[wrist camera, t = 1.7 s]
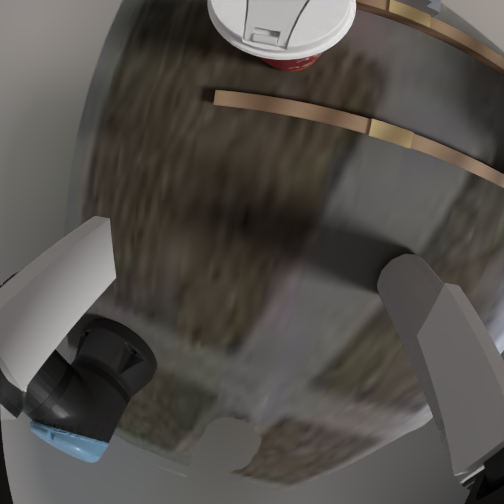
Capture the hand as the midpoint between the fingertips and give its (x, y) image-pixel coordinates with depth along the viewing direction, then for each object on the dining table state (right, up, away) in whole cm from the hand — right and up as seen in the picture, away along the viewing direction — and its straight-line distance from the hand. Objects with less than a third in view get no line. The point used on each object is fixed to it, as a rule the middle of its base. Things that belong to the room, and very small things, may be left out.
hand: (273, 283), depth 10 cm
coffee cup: (+3, +21, +13) cm, 25 cm away
